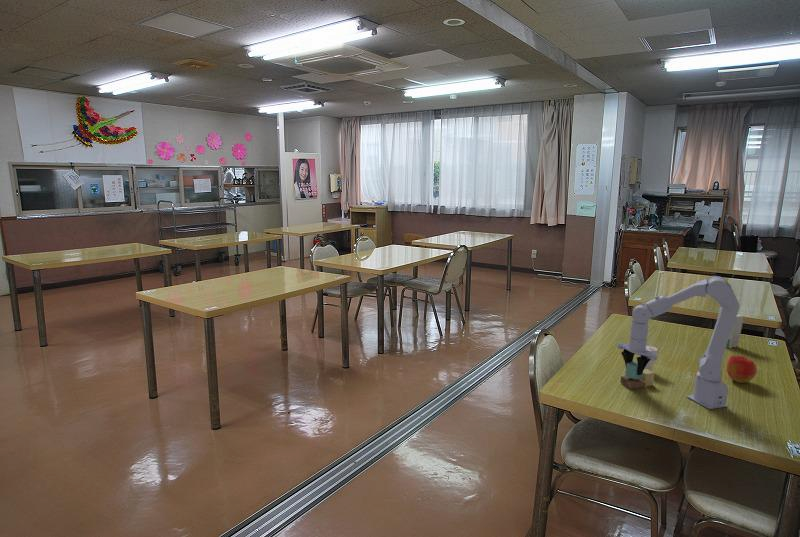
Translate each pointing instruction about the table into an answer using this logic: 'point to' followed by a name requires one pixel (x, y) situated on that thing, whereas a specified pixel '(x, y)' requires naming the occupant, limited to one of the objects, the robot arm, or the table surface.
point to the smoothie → (652, 350)
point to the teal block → (632, 370)
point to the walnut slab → (632, 383)
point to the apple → (741, 369)
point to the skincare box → (735, 332)
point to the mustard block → (648, 377)
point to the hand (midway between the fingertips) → (634, 372)
